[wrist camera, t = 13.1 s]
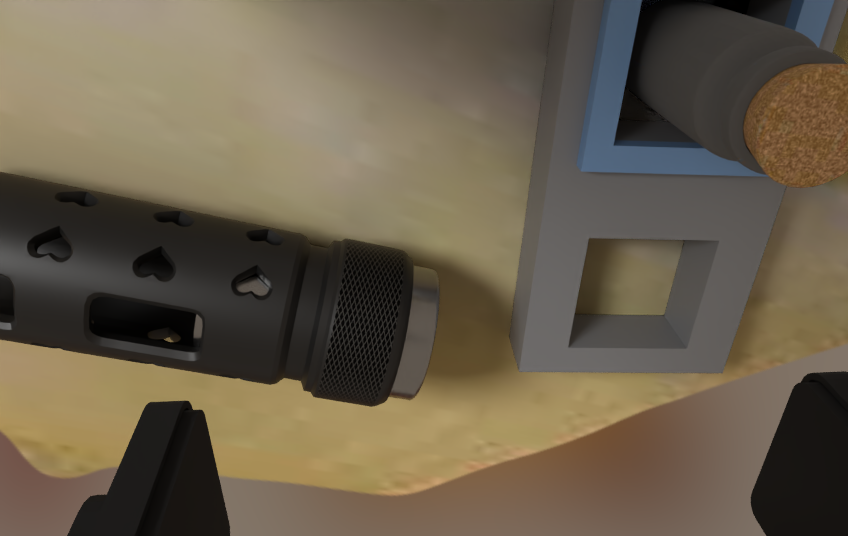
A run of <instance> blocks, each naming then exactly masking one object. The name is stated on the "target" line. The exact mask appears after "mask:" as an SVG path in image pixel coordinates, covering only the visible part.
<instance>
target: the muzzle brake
mask: <svg viewBox="0 0 848 536" xmlns="http://www.w3.org/2000/svg"><path fill="white" fill-rule="evenodd" d="M439 296H440V289H439V279H438V275H437V272H436V271H435V270H434V269H429V268H425V267H420V266H415V265H413V261H412V259H411V257H410V256H408V255H407V254H406V253H405V252H404V251H402V250H399V249H394V248H389V247H384V246H379V245H375V244H370V243H365V242H360V241H355V240H351V239H344V240H343V241H341V242H339V241H334V242H333V243H332V244H331V245H330V246H329V248H324V247H319V246H314V245H311V244H310V242H309V241H308V239H307V238H306V237H305V236H304V235H302V234H298V233H293V232H288V231H283V230H278V229H274V228H269V227H264V226H259V225H254V224H249V223H245V222H240V221H235V220H230V219H225V218H221V217H216V216H211V215H206V214H201V213H196V212H192V211H187V210H182V209H177V208H172V207H168V206H163V205H158V204H153V203H148V202H143V201H139V200H134V199H129V198H124V197H119V196H115V195H110V194H105V193H100V192H95V191H90V190H86V189H81V188H76V187H71V186H66V185H61V184H57V183H52V182H47V181H42V180H37V179H33V178H28V177H23V176H18V175H13V174H8V173H4V172H0V340H6V341H12V342H18V343H24V344H30V345H37V346H43V347H49V348H61V349H63V350H67V351H72V352H78V353H84V354H90V355H96V356H102V357H108V358H114V359H120V360H126V361H132V362H139V363H145V364H154V365H157V366H162V367H168V368H174V369H180V370H186V371H192V372H198V373H204V374H210V375H216V376H222V377H228V378H240V379H243V380H246V381H252V382H257V383H263V384H269V385H271V384H276V383H277V382H279V381H280V380H282V379H283V378H288V379H293V380H299V381H301V383H302V386H303V389H304V391H308V392H311V394H312V395H313V396H314V397H317V398H323V399H329V400H335V401H341V402H347V403H353V404H359V405H365V406H371V407H372V406H377V405H379V404H382V403H384V402H385V401H386V400H387V399H388V397H394V398H400V399H406V400H412V399H413V398H415V396H416V395H417V393H418V392H419V390H420V388H421V386H422V384H423V381H424V378H425V376H426V373H427V369H428V366H429V362H430V358H431V354H432V349H433V344H434V339H435V334H436V328H437V320H438V312H439ZM168 337H170V338H171V339H172V341H173V342H168V341H165V340H164V339H166V338H168Z"/></svg>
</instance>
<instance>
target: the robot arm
mask: <svg viewBox="0 0 848 536" xmlns="http://www.w3.org/2000/svg"><path fill="white" fill-rule="evenodd" d="M751 507H752V511H753V514H754V516H755V518H756V520H757V521H758V523H759V524H760V526H761V528H762V529H763V531H764V533H765V534H766V536H848V372H823V373H810V374H807V375H806V376H805V377H804V378H803V380H802V381H801V383H798V384H796V385H795V386H794V388H793V390H792V393H791V395H790V398H789V400H788V403H787V405H786V408H785V410H784V413H783V416H782V418H781V420H780V423H779V426H778V428H777V431H776V433H775V436H774V438H773V441H772V443H771V446H770V449H769V451H768V453H767V456H766V459H765V461H764V464H763V466H762V469H761V471H760V474H759V476H758V479H757V481H756V484H755V486H754V489H753V491H752V495H751ZM67 536H230V526H229V520H228V516H227V511H226V507H225V502H224V498H223V494H222V489H221V485H220V480H219V476H218V471H217V467H216V462H215V458H214V454H213V449H212V445H211V440H210V436H209V431H208V427H207V422H206V418H205V414H204V412H203V410H193V409H192V406H191V404H190V402H189V401H168V402H150V403H148V404H147V405H146V407H145V408H144V410H143V412H142V415H141V417H140V419H139V422H138V424H137V426H136V429H135V431H134V433H133V435H132V438H131V440H130V442H129V445H128V447H127V449H126V452H125V454H124V456H123V459H122V461H121V463H120V466H119V468H118V470H117V473H116V475H115V477H114V479H113V482H112V484H111V487H110V489H109V491H108V493H107V495H95V496H90V497H89V498H88V499H87V500H86V501H85V502H84V503H83V505H82V507H81V509H80V510H79V512H78V514H77V516H76V518H75V520H74V522H73V524H72V527H71V529H70V531H69V533H68V535H67Z"/></svg>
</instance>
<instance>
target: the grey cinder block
mask: <svg viewBox="0 0 848 536" xmlns="http://www.w3.org/2000/svg"><path fill="white" fill-rule="evenodd" d="M641 3H642V0H555V1H554V9H553V16H552V24H551V31H550V38H549V46H548V53H547V61H546V68H545V75H544V83H543V90H542V98H541V105H540V112H539V120H538V127H537V135H536V142H535V149H534V157H533V164H532V172H531V179H530V186H529V194H528V201H527V209H526V216H525V223H524V231H523V238H522V246H521V253H520V260H519V268H518V275H517V282H516V290H515V297H514V305H513V312H512V319H511V327H510V334H509V338H510V342H511V345H512V349H513V352H514V356H515V359H516V363H517V366H518V370H519V372H622V373H723V370H724V367H725V364H726V361H727V359H728V356H729V353H730V350H731V347H732V344H733V341H734V338H735V335H736V332H737V329H738V326H739V324H740V321H741V318H742V315H743V312H744V309H745V306H746V303H747V300H748V297H749V294H750V291H751V289H752V286H753V283H754V280H755V277H756V274H757V271H758V268H759V265H760V262H761V259H762V257H763V254H764V251H765V248H766V245H767V242H768V239H769V236H770V233H771V230H772V227H773V224H774V222H775V219H776V216H777V213H778V210H779V207H780V204H781V201H782V198H783V195H784V192H785V189H786V187H787V186H786V185H783V184H780V183H778V182H776V181H774V180H772V179H771V178H770V177H769V176H768V175H764V174H760V173H756V172H754V171H752V170H750V169H748V168H746V167H745V166H743V165H742V164H740V163H739V162H738V161H731V160H727V159H724V158H721V157H719V156H717V155H715V154H713V153H711V152H709V151H708V150H707V149H705V148H704V147H702V146H701V145H700V144H698V143H697V142H695V141H694V140H693V139H691V138H690V137H689V136H687V135H686V134H685V133H683V132H682V131H681V130H679V129H678V128H677V127H676V126H674V125H673V124H672V123H670V122H658V121H628V120H619V115H620V110H621V104H622V99H623V94H624V89H625V84H626V79H627V74H628V69H629V64H630V59H631V54H632V48H633V43H634V38H635V33H636V28H637V23H638V18H639V13H640V8H641ZM847 9H848V0H750V2H749V6H748V10H747V13H746V15H747V16H751V17H754V18H757V19H761V20H764V21H767V22H771V23H774V24H777V25H781V26H784V27H787V28H790V29H792V30H795V31H797V32H799V33H802V34H803V35H805V36H806V37H808V38H809V39H811V40H812V41H813V42H814V43H815V44H816V46H817V47H818V48H820V49H823V50H826V51H828V52H831V53H833V50H834V47H835V44H836V41H837V38H838V35H839V32H840V29H841V26H842V23H843V20H844V18H845V15H846V12H847ZM589 238H609V239H658V240H685V241H684V244H683V248H682V252H681V255H680V259H679V263H678V267H677V270H676V274H675V278H674V281H673V285H672V289H671V292H670V296H669V300H668V303H667V307H666V311H665V314H664V316H659V315H580V314H575V309H576V303H577V298H578V293H579V288H580V283H581V277H582V272H583V267H584V262H585V256H586V251H587V246H588V241H589Z"/></svg>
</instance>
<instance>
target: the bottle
mask: <svg viewBox="0 0 848 536" xmlns="http://www.w3.org/2000/svg"><path fill="white" fill-rule="evenodd" d="M626 86H627V87H628V89H629V90H630V91H631V92H632V93H633V94H634V95H635V96H637V97H638V98H639V99H640V100H642V101H643V102H644V103H645V104H647V105H648V106H649V107H651V108H652V109H653V110H655V111H656V112H657V113H658V114H660V115H661V116H662V117H664V118H665V119H666V120H668V121H669V122H670V123H672V124H673V125H674V126H676V127H677V128H678V129H679V130H681V131H682V132H683V133H685V134H686V135H687V136H689V137H690V138H691V139H693V140H694V141H695V142H697V143H698V144H700V145H701V146H702V147H704V148H705V149H707V150H708V151H709V152H711V153H713V154H715V155H717V156H719V157H721V158H724V159H727V160H731V161H738V162H739V163H740V164H742V165H743V166H745V167H746V168H748V169H750V170H752V171H754V172H756V173H760V174H764V175H768V176H769V177H770V178H771V179H772V180H774V181H776V182H778V183H780V184H783V185H786V186H789V187H796V188H805V187H813V186H817V185H820V184H823V183H826V182H829V181H832V180H834V179H836V178H837V177H839V176H841V175H842V174H844V173H845V172H847V171H848V64H847V63H846V62H845V61H844V60H843V59H842V58H840V57H839V56H837V55H835V54H833V53H831V52H828V51H826V50H823V49H820V48H818V47H817V46H816V44H815V43H814V42H813V41H812V40H811V39H809V38H808V37H806V36H805V35H803V34H802V33H799V32H797V31H795V30H792V29H790V28H787V27H784V26H781V25H777V24H774V23H771V22H767V21H764V20H761V19H757V18H754V17H751V16H747V15H744V14H741V13H737V12H734V11H731V10H727V9H724V8H721V7H718V6H714V5H711V4H707V3H704V2H700V1H696V0H663V1H660V2H657V3H655V4H653V5H651V6H650V7H648V8H646V9H645V10H644V11H643V12H641V13H640V14H639V18H638V23H637V28H636V33H635V38H634V43H633V48H632V54H631V59H630V64H629V69H628V74H627V79H626Z"/></svg>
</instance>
